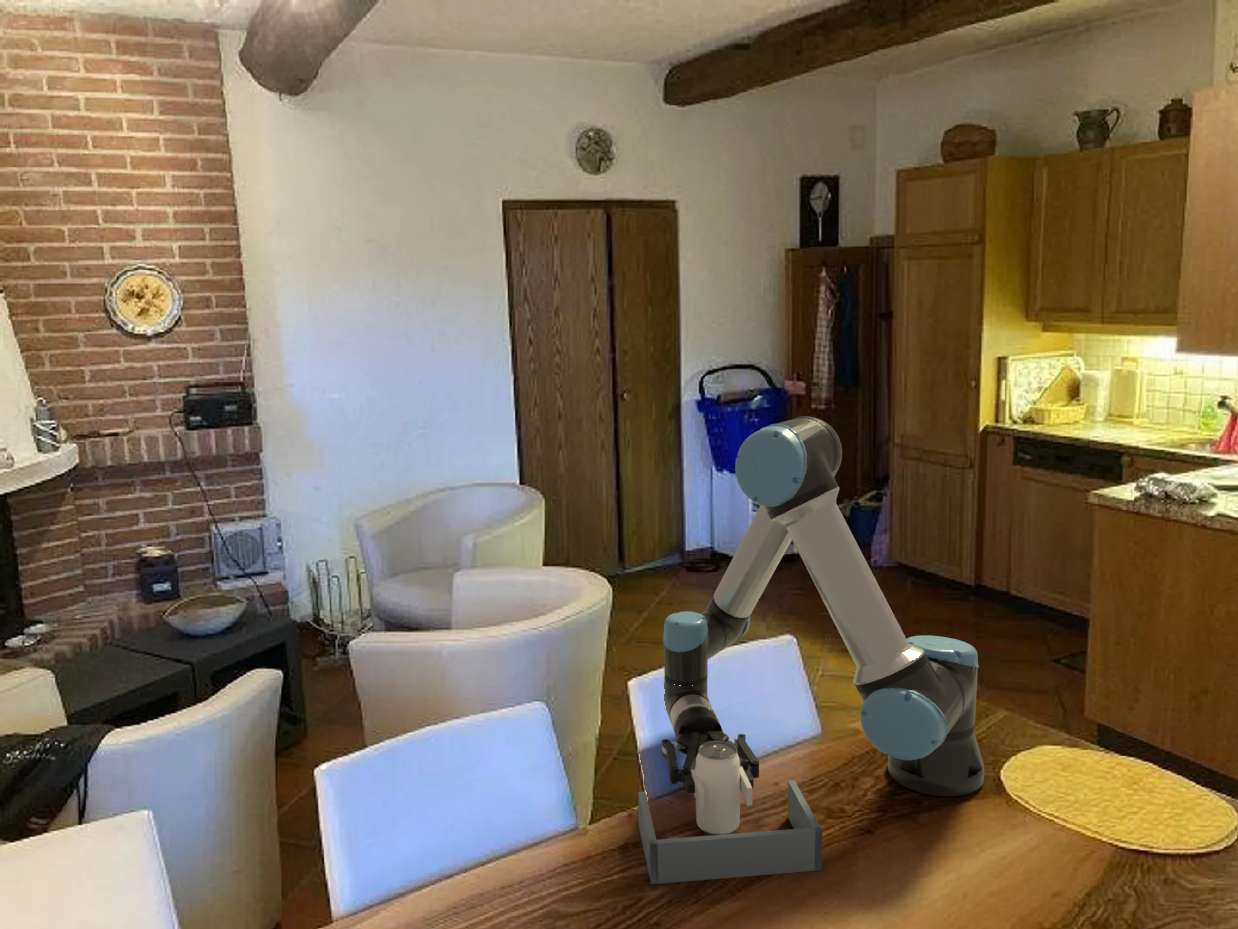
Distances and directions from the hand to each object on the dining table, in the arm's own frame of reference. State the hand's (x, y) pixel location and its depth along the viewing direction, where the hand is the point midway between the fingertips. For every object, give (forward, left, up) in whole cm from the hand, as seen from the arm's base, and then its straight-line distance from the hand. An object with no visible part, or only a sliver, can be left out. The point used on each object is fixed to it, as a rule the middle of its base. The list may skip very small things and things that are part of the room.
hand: (725, 798), depth 140 cm
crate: (0, -1, -8) cm, 9 cm away
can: (+1, -5, -7) cm, 9 cm away
